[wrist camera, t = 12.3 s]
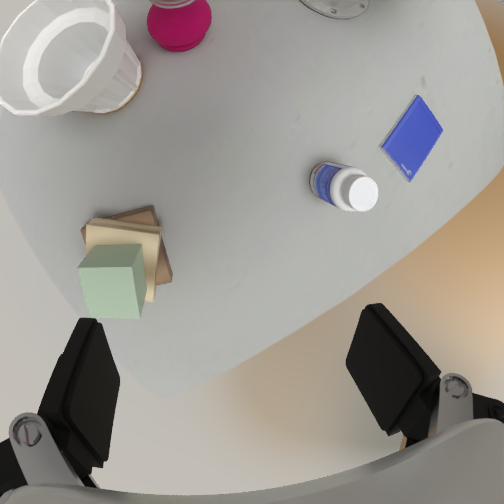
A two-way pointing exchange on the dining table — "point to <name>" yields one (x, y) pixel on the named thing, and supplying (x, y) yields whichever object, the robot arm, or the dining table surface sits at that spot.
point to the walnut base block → (149, 218)
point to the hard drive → (412, 138)
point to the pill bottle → (344, 187)
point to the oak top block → (126, 234)
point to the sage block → (113, 281)
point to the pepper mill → (178, 23)
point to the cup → (67, 59)
